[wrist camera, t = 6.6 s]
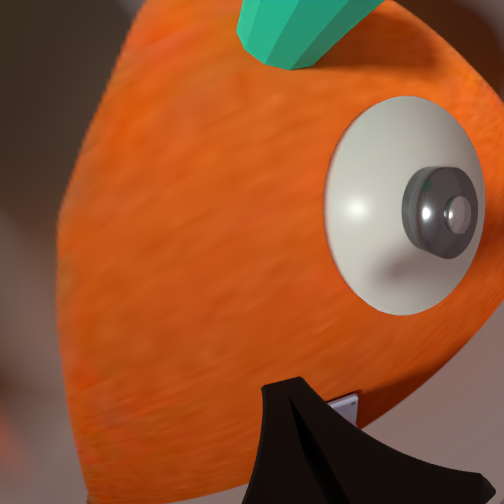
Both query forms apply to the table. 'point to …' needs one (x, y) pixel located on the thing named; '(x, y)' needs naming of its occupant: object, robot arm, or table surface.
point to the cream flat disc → (394, 203)
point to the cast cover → (440, 211)
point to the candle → (297, 28)
